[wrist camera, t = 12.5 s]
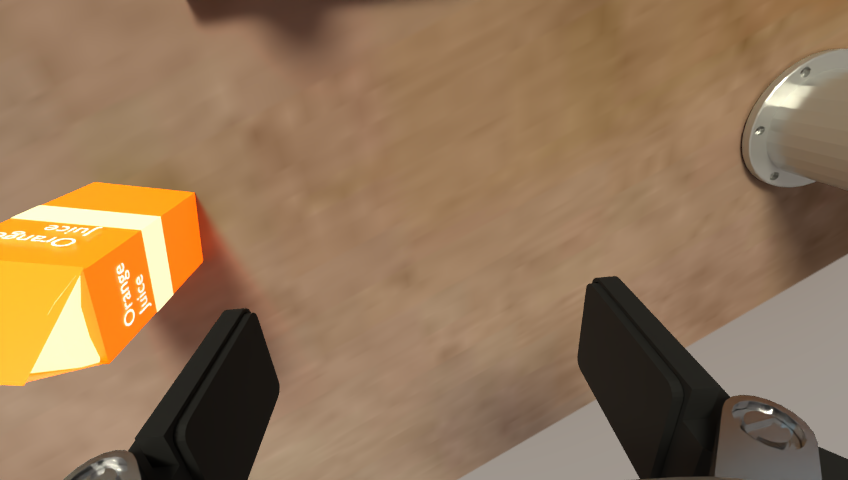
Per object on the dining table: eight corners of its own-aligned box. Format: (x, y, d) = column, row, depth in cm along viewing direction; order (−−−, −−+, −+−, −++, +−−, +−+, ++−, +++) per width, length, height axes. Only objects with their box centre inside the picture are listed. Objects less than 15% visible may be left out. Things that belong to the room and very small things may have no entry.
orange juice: (203, 262, 40) (46, 436, 22) (110, 254, 39) (-135, 430, 21) (195, 190, 36) (1, 325, 19) (93, 179, 35) (-218, 311, 18)
